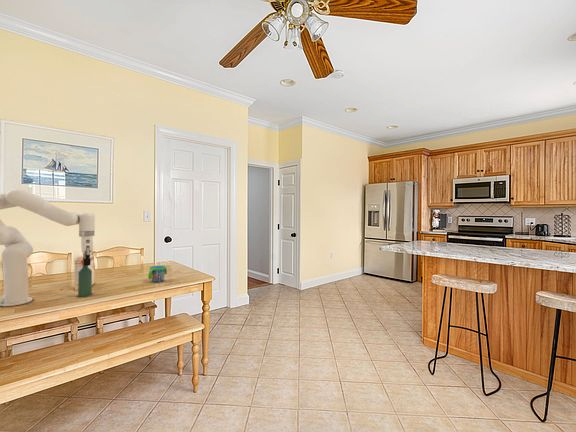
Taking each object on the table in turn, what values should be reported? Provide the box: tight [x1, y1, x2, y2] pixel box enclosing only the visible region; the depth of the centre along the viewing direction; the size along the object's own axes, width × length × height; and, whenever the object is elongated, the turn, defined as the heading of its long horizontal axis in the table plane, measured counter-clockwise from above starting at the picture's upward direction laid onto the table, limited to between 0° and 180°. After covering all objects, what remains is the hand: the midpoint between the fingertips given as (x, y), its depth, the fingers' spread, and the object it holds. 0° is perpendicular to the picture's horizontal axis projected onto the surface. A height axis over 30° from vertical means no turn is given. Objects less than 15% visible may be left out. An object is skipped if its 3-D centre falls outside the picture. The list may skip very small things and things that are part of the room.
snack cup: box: [147, 265, 168, 283], centre depth 198 cm, size 16×10×10 cm
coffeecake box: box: [74, 254, 95, 291], centre depth 182 cm, size 15×7×20 cm, turn 21°
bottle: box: [77, 265, 93, 298], centre depth 165 cm, size 6×6×19 cm
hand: (86, 264), depth 165 cm, fingers closed on cap, 3 cm apart
